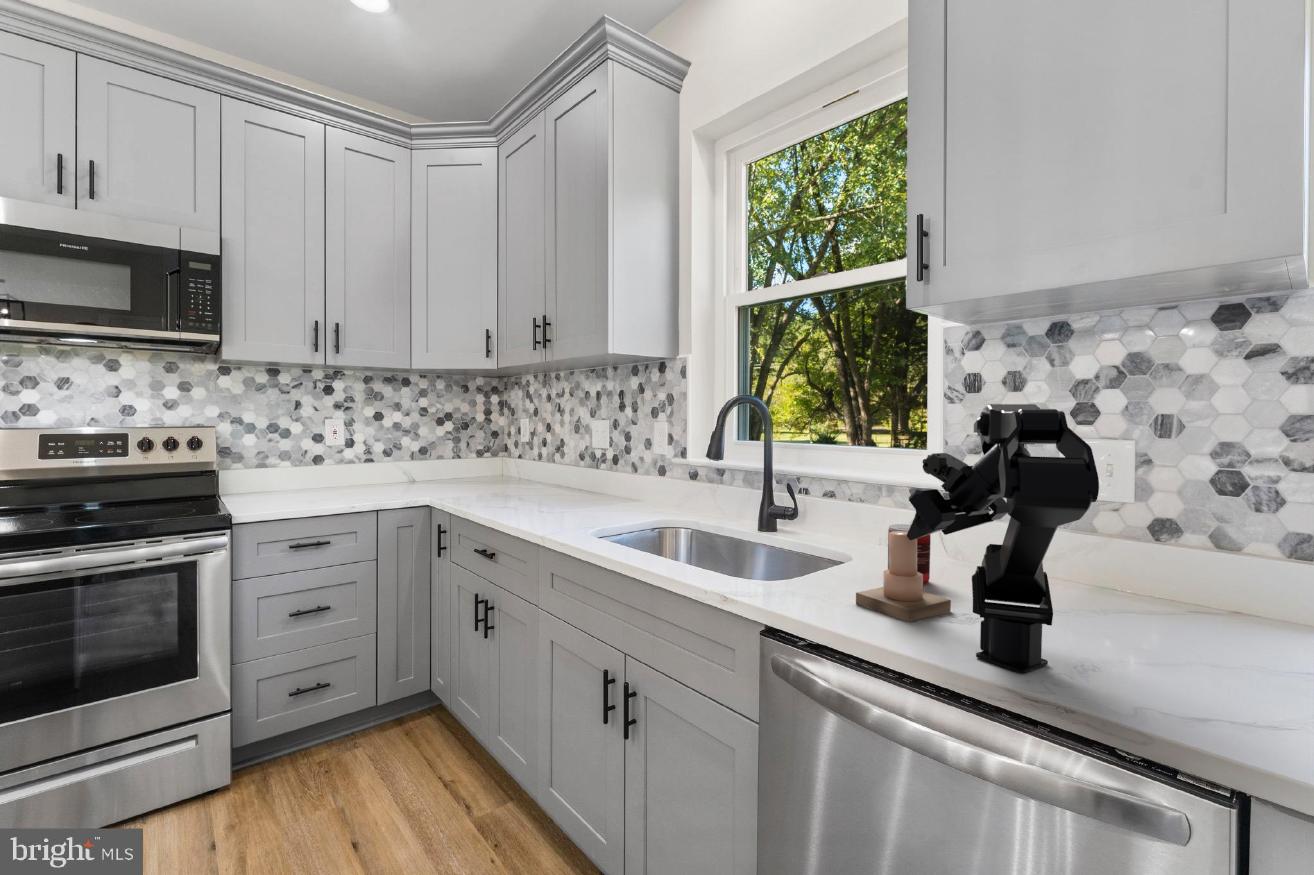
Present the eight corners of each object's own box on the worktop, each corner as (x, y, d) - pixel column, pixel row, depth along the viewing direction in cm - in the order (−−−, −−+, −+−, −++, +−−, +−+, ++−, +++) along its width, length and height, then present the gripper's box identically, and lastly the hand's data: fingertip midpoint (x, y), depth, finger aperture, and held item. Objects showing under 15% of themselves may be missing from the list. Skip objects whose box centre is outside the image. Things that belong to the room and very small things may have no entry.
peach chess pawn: (930, 597, 105) (930, 534, 105) (906, 603, 102) (907, 538, 101) (899, 589, 110) (899, 529, 110) (875, 594, 107) (875, 532, 107)
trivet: (950, 611, 104) (950, 599, 104) (908, 621, 99) (908, 609, 99) (896, 594, 114) (896, 584, 114) (855, 603, 108) (855, 592, 108)
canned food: (891, 574, 129) (891, 522, 129) (931, 579, 125) (932, 526, 125) (884, 582, 123) (885, 528, 122) (926, 588, 118) (928, 532, 118)
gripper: (991, 435, 101) (931, 494, 111) (920, 437, 92) (861, 501, 102) (1040, 487, 95) (971, 544, 105) (969, 495, 85) (901, 557, 95)
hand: (926, 535), depth 102 cm, fingers open, 9 cm apart
